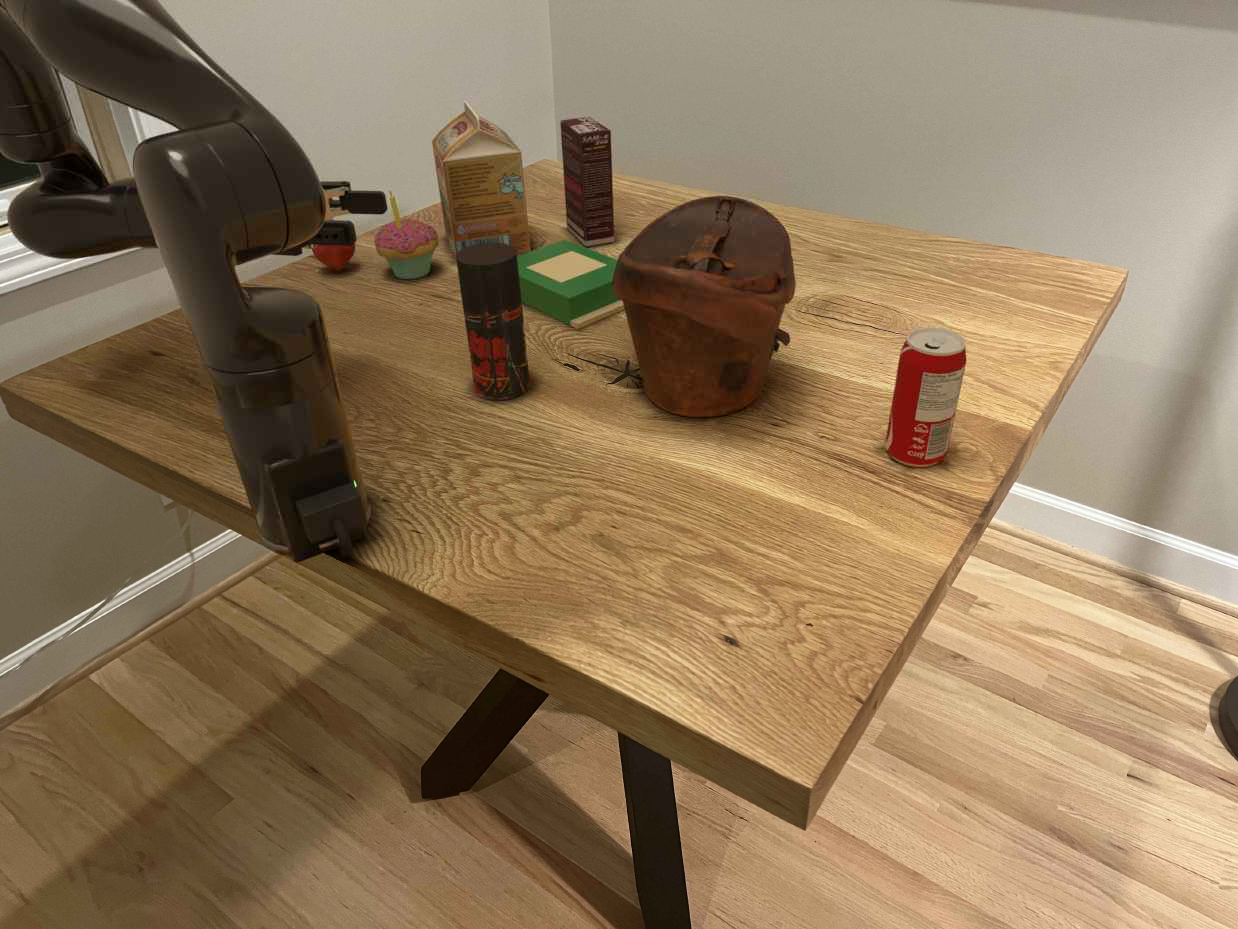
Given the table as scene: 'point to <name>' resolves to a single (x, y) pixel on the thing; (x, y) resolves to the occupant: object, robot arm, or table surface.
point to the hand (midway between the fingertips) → (370, 217)
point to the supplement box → (588, 180)
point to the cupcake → (407, 245)
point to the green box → (569, 283)
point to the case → (706, 303)
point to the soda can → (925, 396)
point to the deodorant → (494, 320)
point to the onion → (334, 255)
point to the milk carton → (480, 184)
